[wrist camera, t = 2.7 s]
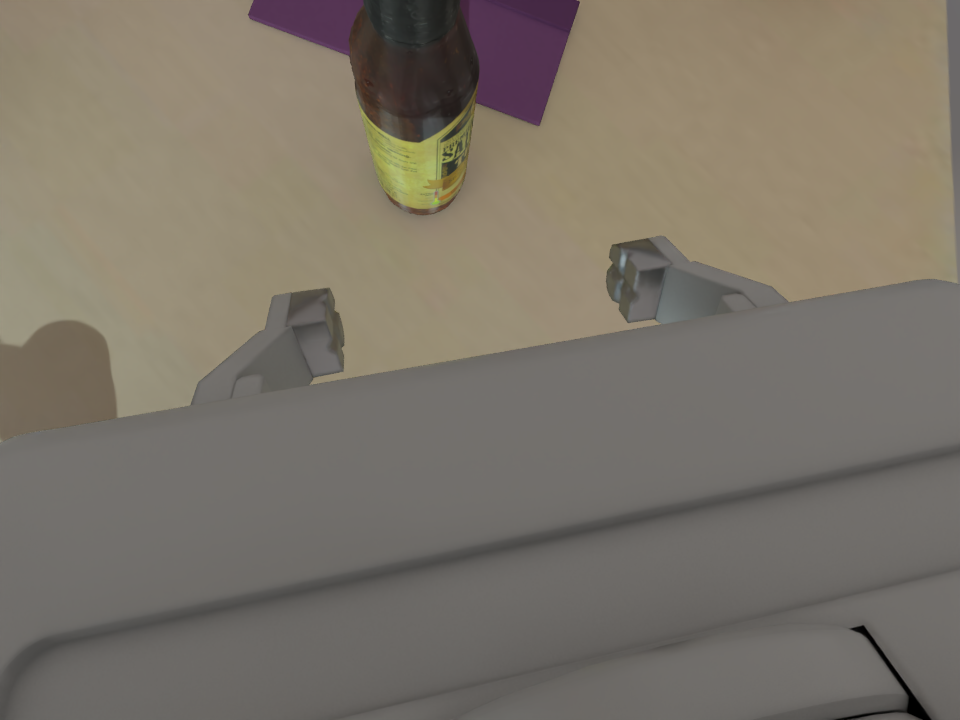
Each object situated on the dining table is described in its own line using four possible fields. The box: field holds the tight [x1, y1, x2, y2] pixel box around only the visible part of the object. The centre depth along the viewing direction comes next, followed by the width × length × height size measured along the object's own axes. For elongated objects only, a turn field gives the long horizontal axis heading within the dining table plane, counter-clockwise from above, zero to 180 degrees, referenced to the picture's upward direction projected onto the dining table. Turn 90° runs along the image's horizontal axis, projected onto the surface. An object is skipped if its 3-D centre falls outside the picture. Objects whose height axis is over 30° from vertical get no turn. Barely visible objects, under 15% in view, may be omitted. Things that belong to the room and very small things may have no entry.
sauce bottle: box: [348, 0, 480, 215], centre depth 25 cm, size 7×6×20 cm
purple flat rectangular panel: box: [248, 0, 580, 126], centre depth 35 cm, size 22×10×1 cm, turn 72°
